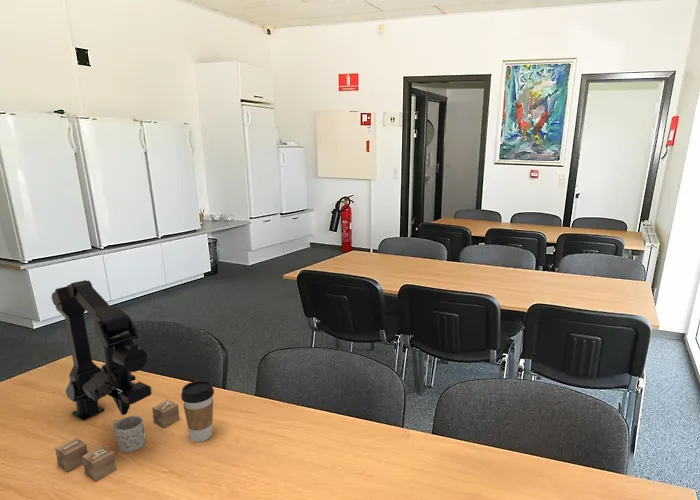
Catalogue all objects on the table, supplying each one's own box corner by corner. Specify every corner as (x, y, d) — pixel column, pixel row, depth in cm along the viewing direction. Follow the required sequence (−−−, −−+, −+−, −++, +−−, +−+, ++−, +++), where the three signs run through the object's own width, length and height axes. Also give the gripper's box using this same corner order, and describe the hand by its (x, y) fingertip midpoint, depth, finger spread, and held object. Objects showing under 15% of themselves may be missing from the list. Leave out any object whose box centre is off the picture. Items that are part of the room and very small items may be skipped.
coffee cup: (207, 446, 119) (203, 395, 116) (178, 442, 121) (173, 392, 118) (222, 428, 127) (218, 379, 124) (195, 424, 129) (191, 376, 126)
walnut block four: (85, 474, 109) (82, 455, 108) (105, 462, 113) (102, 444, 112) (95, 482, 106) (93, 463, 105) (116, 470, 111) (113, 451, 109)
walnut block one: (58, 465, 112) (55, 447, 111) (78, 454, 116) (76, 436, 115) (68, 472, 110) (65, 454, 108) (88, 461, 114) (86, 443, 113)
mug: (150, 441, 121) (148, 419, 120) (128, 456, 115) (125, 433, 114) (126, 431, 126) (124, 410, 124) (104, 444, 120) (101, 422, 119)
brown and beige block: (153, 423, 130) (152, 406, 129) (168, 414, 134) (167, 399, 133) (164, 428, 127) (162, 412, 126) (179, 419, 131) (178, 403, 130)
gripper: (66, 363, 114) (74, 418, 117) (106, 382, 104) (114, 442, 107) (109, 347, 123) (115, 398, 126) (149, 364, 113) (155, 419, 116)
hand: (124, 414), depth 119 cm, fingers closed
